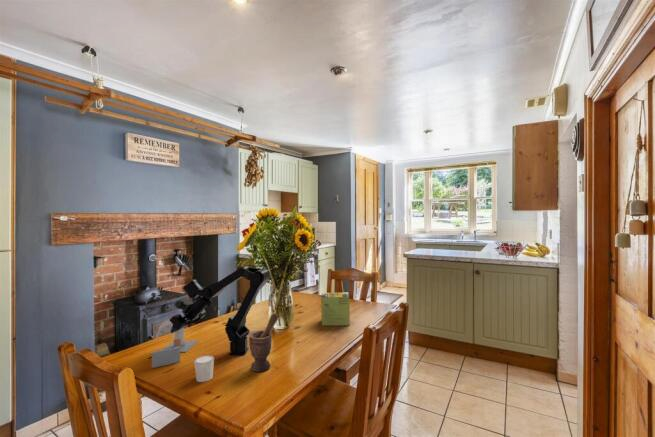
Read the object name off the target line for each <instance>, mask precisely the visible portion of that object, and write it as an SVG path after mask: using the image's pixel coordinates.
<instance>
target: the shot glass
mask: <svg viewBox="0 0 655 437" xmlns="http://www.w3.org/2000/svg"><path fill="white" fill-rule="evenodd" d="M193 362H194V372H195V379H196V382H198V383H205V382H208V381H210V380H211V379H213V377H214V365H215V364H214V363H215V357H214V356H213V355H203V356H198V357H197V358H196V359H194V361H193Z"/></svg>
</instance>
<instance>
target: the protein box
mask: <svg viewBox="0 0 655 437" xmlns="http://www.w3.org/2000/svg"><path fill="white" fill-rule="evenodd" d="M320 302H321V326H351V324H350V322H351V318H350V317H351V314H350V312H351V310H350V294H349V292H347V291H345V292H322V293H321V301H320Z"/></svg>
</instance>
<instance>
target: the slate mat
mask: <svg viewBox="0 0 655 437" xmlns="http://www.w3.org/2000/svg"><path fill="white" fill-rule="evenodd" d="M198 342H199V341H198V340H185V346H184V347H181V348H180V354H181V353H187V352H188V351H189V350H190V349H191V348H193V347H194V346H195V345H196V344H197V343H198ZM169 348H174V340H173V341H171V342H170V343H168V345H166V346H165V347H163V348H162V349H161V350H164V349H169Z"/></svg>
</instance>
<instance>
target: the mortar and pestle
mask: <svg viewBox="0 0 655 437" xmlns="http://www.w3.org/2000/svg"><path fill="white" fill-rule="evenodd" d="M278 319H279V315H277V314H276V313H273V314H271V316H270V318H269V320H268V323H267V325H266V327H265V329H264V330H258V331H257V330H256V331H254V332H251V333H249V335H248V337H249V338H248V339H249V340H248V341H249V350H250V354H251V356H252V358H253V359H254V361H252V363H251V364H250V371H253V372H257V373H261V372H265V371H267V370H269V369H270V368H271V364H270V360H268V359H267V358H268V356H269V355H270V353H271V350H272V337H273V334H272V332H271V330H272V329H273V327H274V326H275V324H276V323H277V321H278Z"/></svg>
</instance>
